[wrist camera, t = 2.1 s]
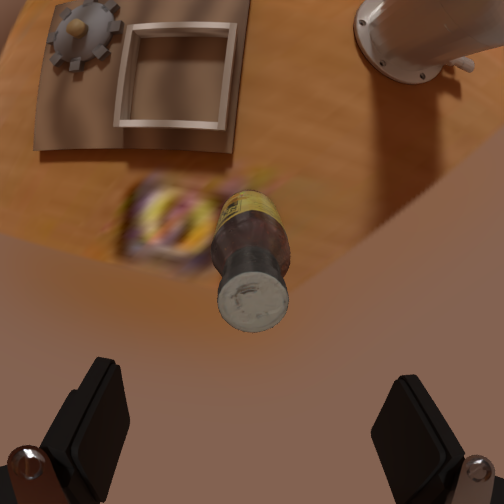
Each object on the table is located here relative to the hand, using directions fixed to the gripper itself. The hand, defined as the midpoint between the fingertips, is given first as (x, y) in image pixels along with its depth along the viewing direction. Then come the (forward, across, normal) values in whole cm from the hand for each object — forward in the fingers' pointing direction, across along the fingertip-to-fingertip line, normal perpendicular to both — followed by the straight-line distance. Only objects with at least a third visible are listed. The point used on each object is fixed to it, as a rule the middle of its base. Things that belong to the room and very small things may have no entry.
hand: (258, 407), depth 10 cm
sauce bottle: (+28, 0, 0) cm, 28 cm away
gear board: (+28, +15, -17) cm, 36 cm away
